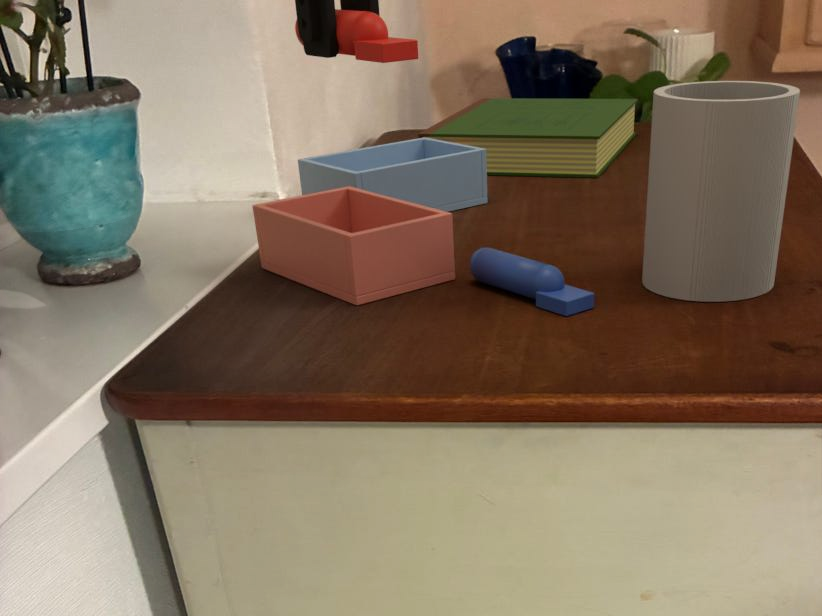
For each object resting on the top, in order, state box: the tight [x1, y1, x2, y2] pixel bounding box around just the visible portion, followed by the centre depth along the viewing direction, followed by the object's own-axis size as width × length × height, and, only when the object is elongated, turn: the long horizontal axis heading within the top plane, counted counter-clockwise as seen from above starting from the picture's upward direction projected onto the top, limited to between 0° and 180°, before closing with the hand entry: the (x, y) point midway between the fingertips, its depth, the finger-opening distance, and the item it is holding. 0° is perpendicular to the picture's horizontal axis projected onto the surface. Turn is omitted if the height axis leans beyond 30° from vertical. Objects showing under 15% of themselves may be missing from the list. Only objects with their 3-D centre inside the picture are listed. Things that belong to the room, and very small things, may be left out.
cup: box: [641, 80, 801, 303], centre depth 68 cm, size 9×9×12 cm
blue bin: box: [297, 137, 488, 213], centre depth 92 cm, size 14×9×5 cm, turn 130°
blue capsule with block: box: [469, 247, 595, 317], centre depth 70 cm, size 11×3×2 cm, turn 40°
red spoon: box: [294, 8, 419, 64], centre depth 63 cm, size 11×3×2 cm, turn 39°
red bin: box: [251, 186, 456, 306], centre depth 75 cm, size 13×9×5 cm, turn 40°
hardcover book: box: [417, 97, 638, 179], centre depth 111 cm, size 25×19×4 cm
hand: (341, 50), depth 64 cm, fingers closed on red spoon, 2 cm apart
